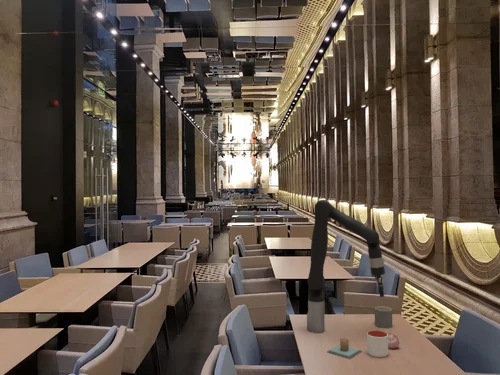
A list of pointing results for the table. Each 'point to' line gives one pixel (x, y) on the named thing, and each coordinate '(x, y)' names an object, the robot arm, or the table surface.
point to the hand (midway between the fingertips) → (381, 294)
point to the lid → (344, 349)
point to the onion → (392, 341)
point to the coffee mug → (383, 317)
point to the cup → (377, 343)
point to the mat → (346, 357)
